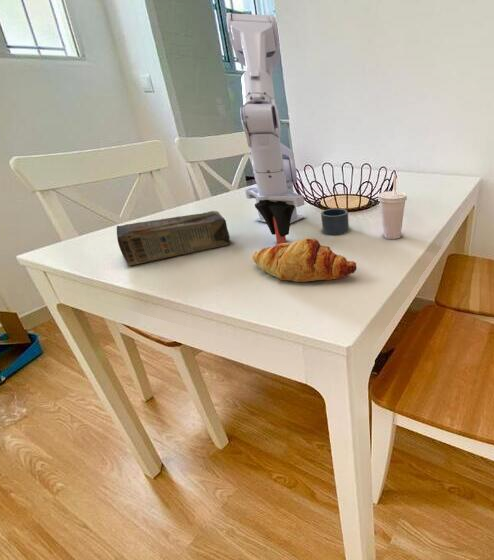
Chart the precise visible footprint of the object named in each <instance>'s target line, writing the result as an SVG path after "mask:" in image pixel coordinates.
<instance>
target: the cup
mask: <svg viewBox="0 0 494 560" xmlns="http://www.w3.org/2000/svg"><path fill="white" fill-rule="evenodd" d="M320 217H321V227H322V232H323V233H324V234H325V235H330V236H338V235H344V234H346V233H348V232H349V231H350V226H349V225H350V224H349V212H348V210H347V209H344V208H328V209H325V210H322V211H321V212H320Z"/></svg>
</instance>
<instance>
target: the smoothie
mask: <svg viewBox="0 0 494 560" xmlns="http://www.w3.org/2000/svg"><path fill="white" fill-rule="evenodd" d="M407 196H408V195H407V193H406V192H403V191H398V190H397V174H395V173H393V190H388V191H382V192H380V193H378V195H377V200H378V201H379V206H380V214H381V221H382V227H383V235H384V238H385V239H388V240H396V239H399V238H401V236H402V227H403V220H404V212H405V206H406V201H407V200H408V197H407Z"/></svg>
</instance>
